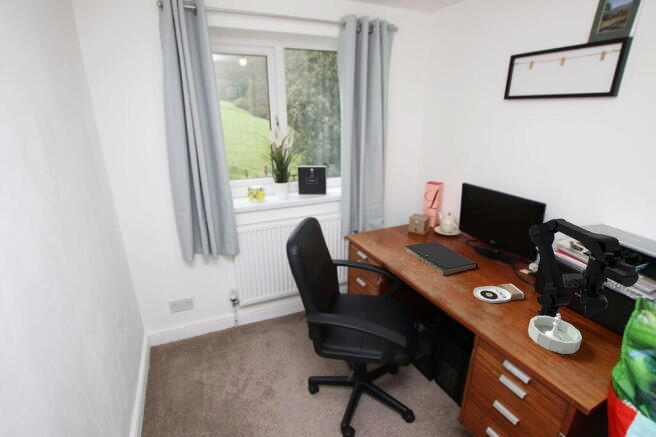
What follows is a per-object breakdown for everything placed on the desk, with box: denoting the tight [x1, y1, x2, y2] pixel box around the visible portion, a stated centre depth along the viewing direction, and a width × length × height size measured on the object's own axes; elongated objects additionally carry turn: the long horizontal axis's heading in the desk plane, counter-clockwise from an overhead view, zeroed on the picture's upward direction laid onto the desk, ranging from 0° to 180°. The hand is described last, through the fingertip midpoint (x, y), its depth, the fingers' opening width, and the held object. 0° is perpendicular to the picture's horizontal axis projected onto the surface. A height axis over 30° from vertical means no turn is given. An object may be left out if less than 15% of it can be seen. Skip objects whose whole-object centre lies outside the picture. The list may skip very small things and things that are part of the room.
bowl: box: [528, 315, 583, 355], centre depth 113 cm, size 15×15×4 cm
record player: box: [473, 283, 525, 304], centre depth 142 cm, size 12×3×20 cm
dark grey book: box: [404, 240, 479, 276], centre depth 178 cm, size 33×4×24 cm
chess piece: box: [545, 312, 562, 340], centre depth 112 cm, size 5×5×10 cm
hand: (584, 310), depth 110 cm, fingers open, 9 cm apart
